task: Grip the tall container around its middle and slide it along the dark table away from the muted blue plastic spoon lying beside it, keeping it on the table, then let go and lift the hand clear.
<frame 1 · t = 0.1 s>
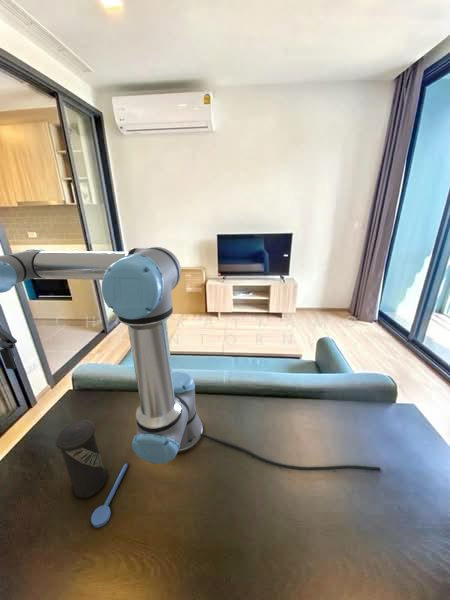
spoon: (112, 493, 68), on the table
container: (90, 483, 71), on the table
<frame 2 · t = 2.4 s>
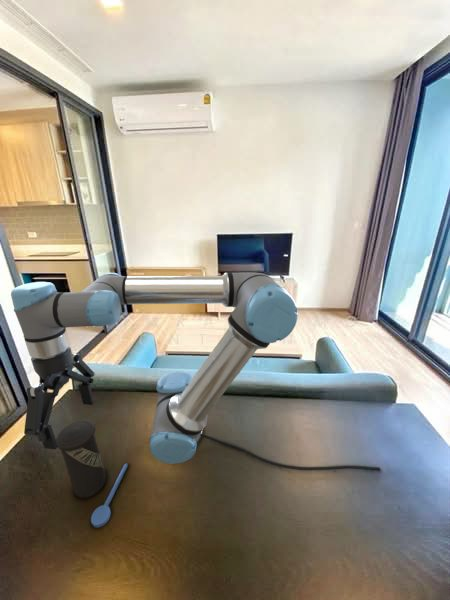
hand: (71, 423, 63), 22 cm above the table, tool pointing down, fingers open, 13 cm apart
nothing on the table moved.
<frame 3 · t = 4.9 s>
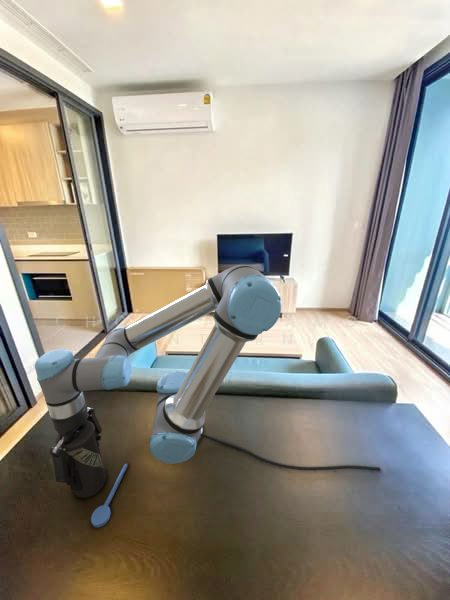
hand: (87, 472, 70), 4 cm above the table, tool pointing down, fingers closed on container, 8 cm apart
container: (90, 483, 71), on the table, touching gripper
everything else where it was.
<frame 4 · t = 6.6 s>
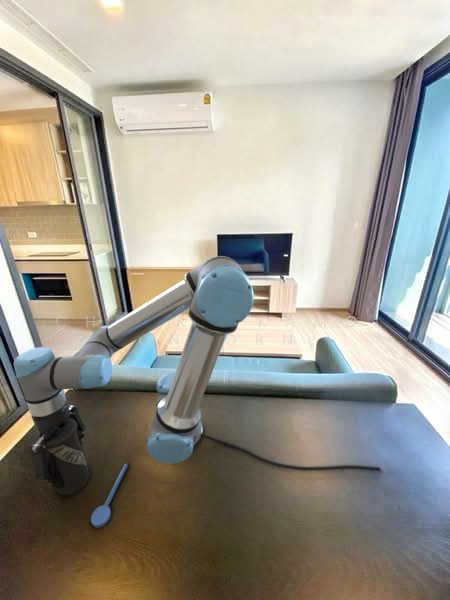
hand: (69, 470, 70), 4 cm above the table, tool pointing down, fingers closed on container, 8 cm apart
container: (73, 481, 71), on the table, touching gripper
everything else where it was.
when the fingers open (4 cm above the table, at t = 8.4 s): container stays where it is, on the table.
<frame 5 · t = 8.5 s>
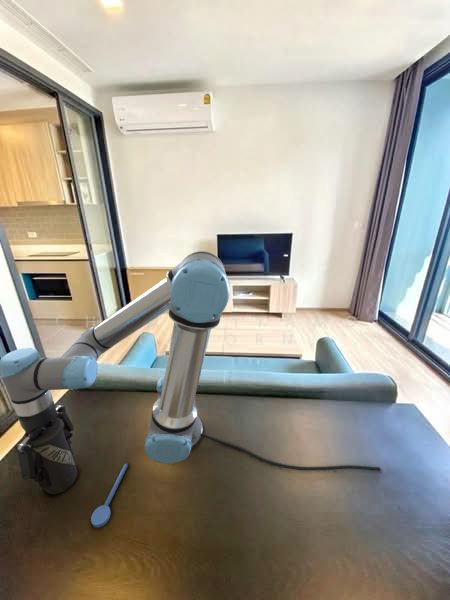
hand: (57, 469, 71), 4 cm above the table, tool pointing down, fingers open, 8 cm apart
container: (61, 480, 72), on the table
everything else where it was.
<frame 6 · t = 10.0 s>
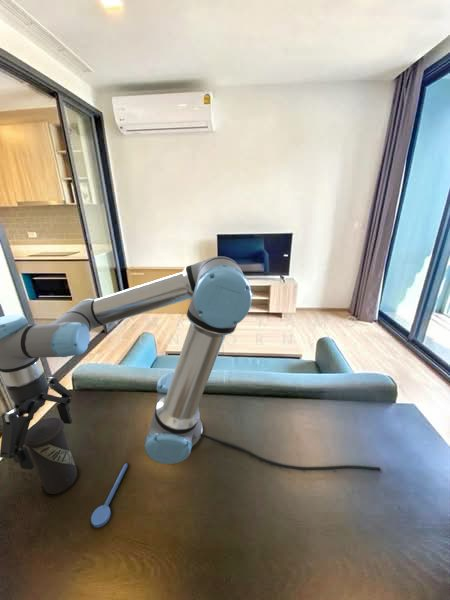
hand: (49, 443, 67), 14 cm above the table, tool pointing down, fingers open, 13 cm apart
nothing on the table moved.
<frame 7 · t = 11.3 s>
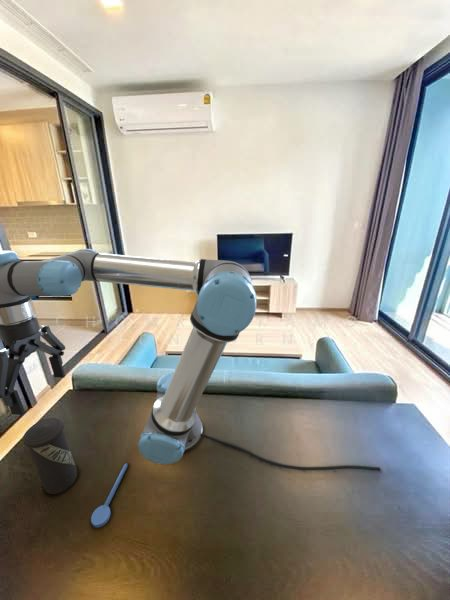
hand: (41, 393, 65), 28 cm above the table, tool pointing down, fingers open, 13 cm apart
nothing on the table moved.
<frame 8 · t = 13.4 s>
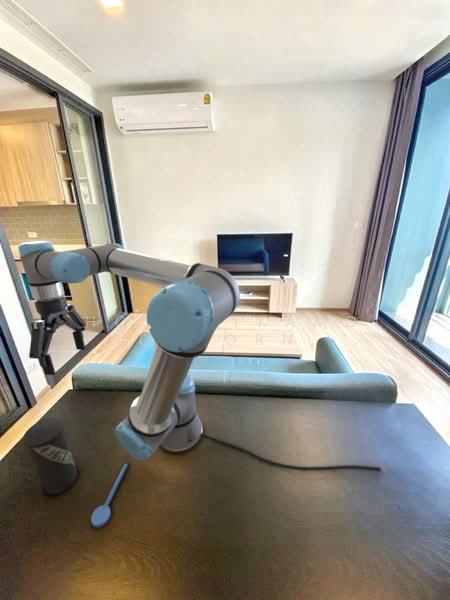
hand: (67, 360, 78), 29 cm above the table, tool pointing down, fingers open, 13 cm apart
nothing on the table moved.
at the end: container inside the target area (0.5 cm from its centre), on the table; container tilted 0°; spoon moved 0.0 cm from its start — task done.
